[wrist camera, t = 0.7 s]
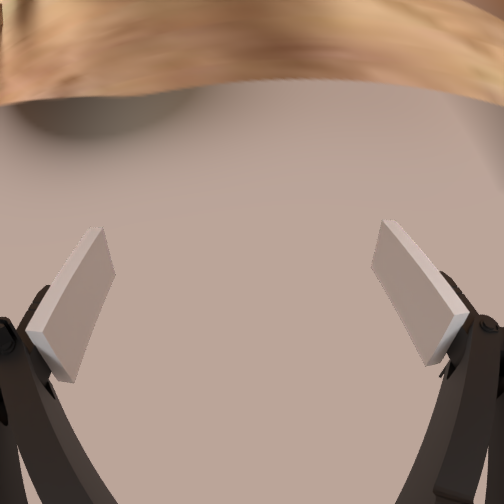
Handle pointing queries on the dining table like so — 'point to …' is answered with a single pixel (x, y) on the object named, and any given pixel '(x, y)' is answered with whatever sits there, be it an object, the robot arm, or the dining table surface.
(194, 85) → the dining table surface
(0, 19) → the square bit
